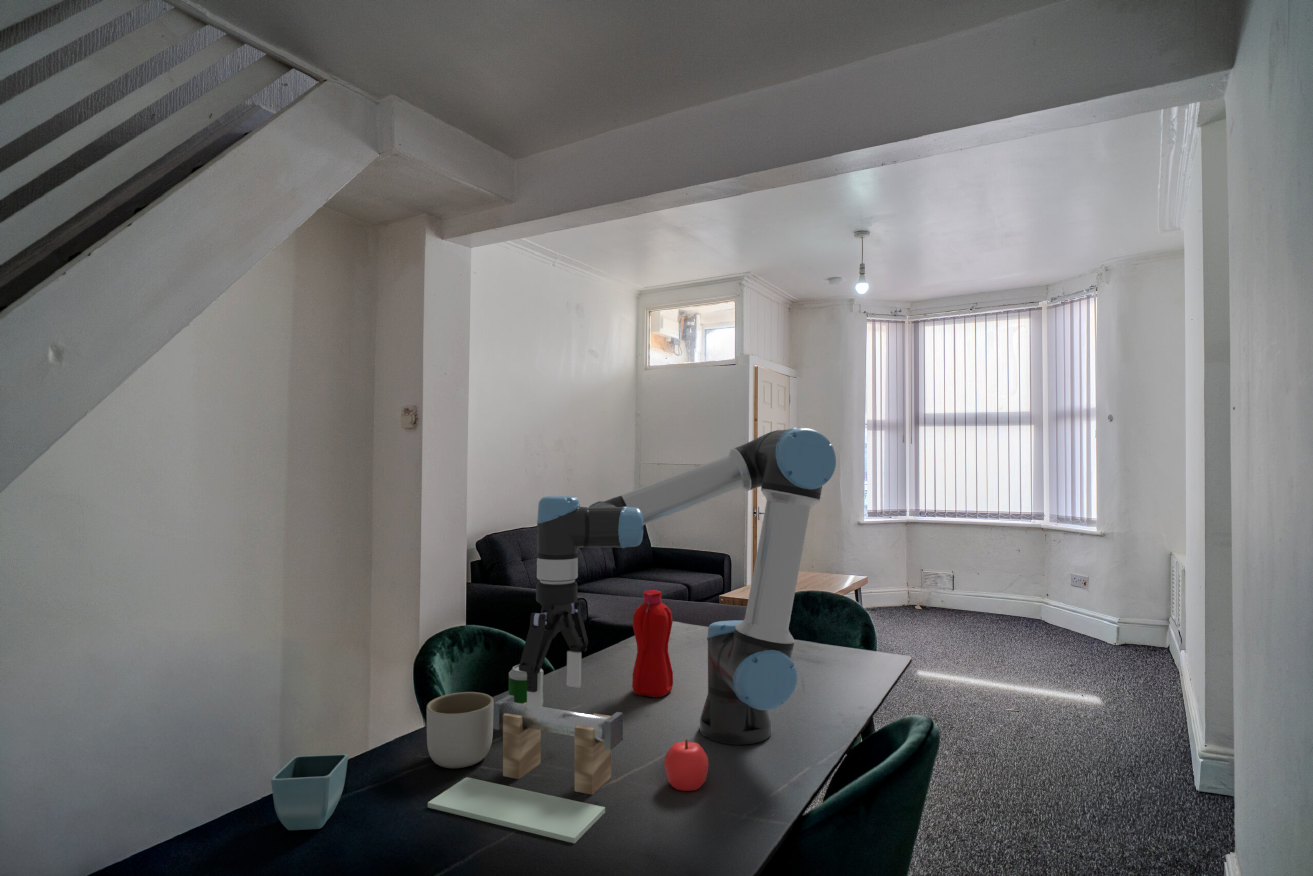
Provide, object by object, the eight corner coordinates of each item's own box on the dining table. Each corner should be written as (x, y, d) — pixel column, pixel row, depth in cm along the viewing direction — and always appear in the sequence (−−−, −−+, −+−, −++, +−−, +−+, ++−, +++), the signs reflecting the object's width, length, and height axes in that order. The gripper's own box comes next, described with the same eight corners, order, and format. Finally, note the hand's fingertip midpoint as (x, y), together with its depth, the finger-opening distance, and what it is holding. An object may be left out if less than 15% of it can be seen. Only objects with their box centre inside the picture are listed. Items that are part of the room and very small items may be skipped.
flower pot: (293, 810, 115) (294, 755, 115) (348, 807, 115) (349, 753, 116) (268, 839, 106) (269, 779, 106) (328, 836, 107) (329, 777, 107)
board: (605, 812, 114) (605, 807, 114) (574, 843, 104) (574, 838, 104) (466, 781, 125) (466, 777, 125) (427, 807, 115) (427, 802, 115)
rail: (622, 740, 124) (622, 712, 124) (610, 750, 120) (610, 722, 120) (508, 720, 134) (508, 695, 134) (493, 729, 129) (493, 703, 129)
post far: (540, 763, 132) (540, 704, 132) (519, 779, 125) (519, 717, 126) (525, 760, 133) (525, 702, 134) (502, 776, 127) (503, 715, 127)
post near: (611, 777, 126) (611, 716, 126) (592, 794, 120) (592, 730, 120) (594, 773, 128) (594, 713, 128) (574, 791, 121) (574, 727, 121)
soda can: (535, 730, 148) (535, 673, 149) (502, 727, 150) (503, 671, 150) (548, 717, 156) (548, 663, 156) (516, 715, 157) (516, 661, 157)
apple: (664, 775, 127) (664, 731, 127) (708, 775, 127) (707, 731, 127) (663, 796, 119) (663, 749, 119) (710, 796, 119) (709, 749, 119)
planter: (432, 780, 125) (432, 718, 126) (421, 754, 136) (421, 698, 137) (500, 765, 131) (500, 707, 131) (484, 742, 142) (484, 688, 142)
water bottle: (625, 698, 168) (625, 594, 169) (643, 684, 178) (642, 586, 179) (660, 702, 165) (660, 596, 165) (676, 688, 175) (676, 588, 176)
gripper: (573, 569, 140) (571, 675, 140) (499, 590, 118) (497, 716, 117) (606, 572, 138) (604, 680, 137) (537, 593, 115) (534, 723, 114)
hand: (555, 697), depth 127 cm, fingers open, 13 cm apart
